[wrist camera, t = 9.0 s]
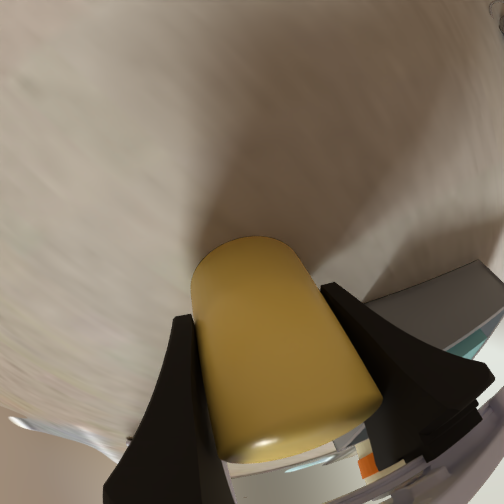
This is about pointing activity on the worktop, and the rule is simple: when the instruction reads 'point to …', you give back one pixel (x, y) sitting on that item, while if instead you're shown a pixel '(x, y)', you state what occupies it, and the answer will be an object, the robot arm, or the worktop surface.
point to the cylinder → (273, 355)
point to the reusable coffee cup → (370, 469)
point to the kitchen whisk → (503, 20)
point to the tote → (441, 315)
